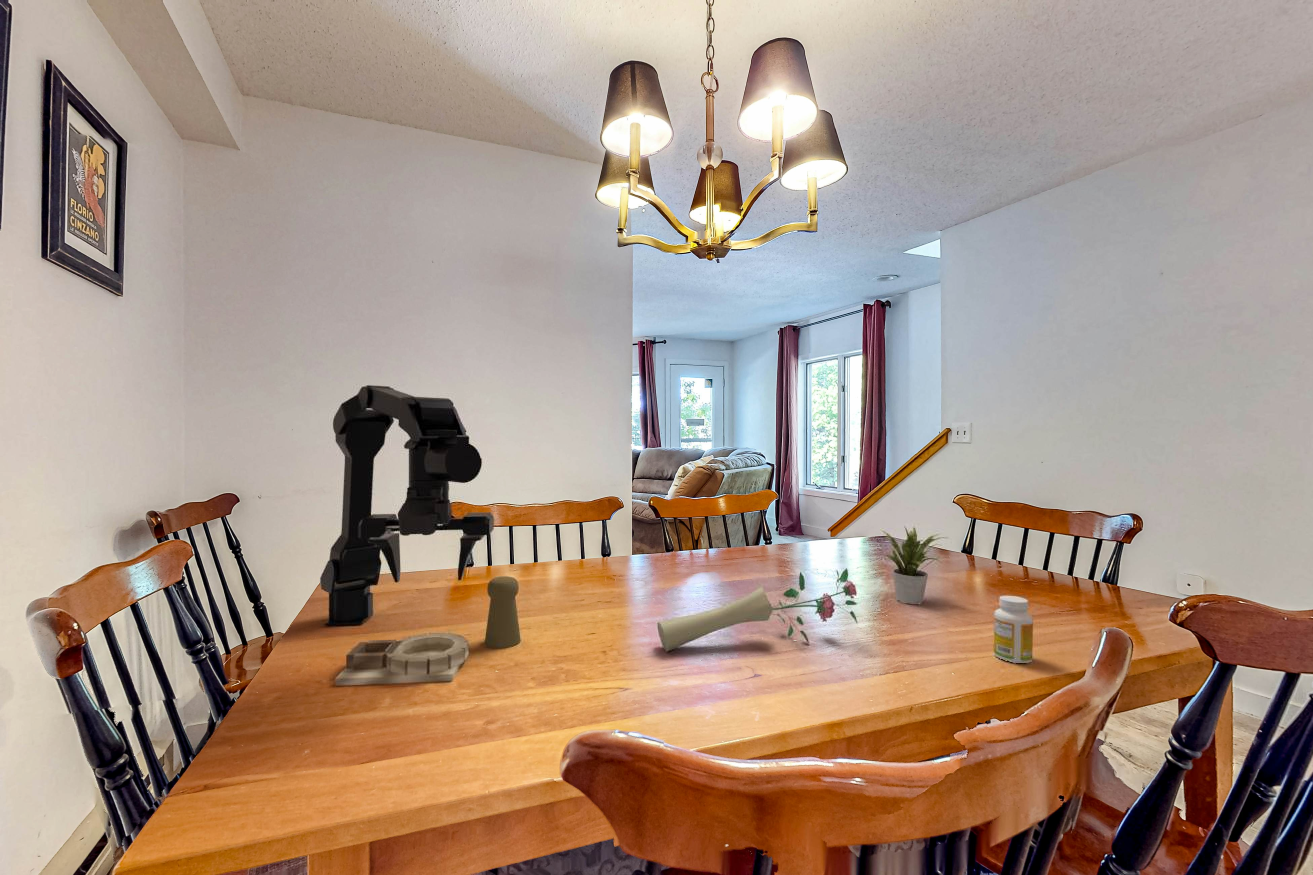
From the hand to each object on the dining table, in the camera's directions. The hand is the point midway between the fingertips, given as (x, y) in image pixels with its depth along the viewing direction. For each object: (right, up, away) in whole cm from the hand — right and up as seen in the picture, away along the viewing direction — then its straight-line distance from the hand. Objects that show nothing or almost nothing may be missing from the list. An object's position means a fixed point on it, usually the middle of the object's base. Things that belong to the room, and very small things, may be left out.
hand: (428, 580), depth 89 cm
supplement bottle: (+93, -14, +5) cm, 94 cm away
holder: (-3, -13, 0) cm, 13 cm away
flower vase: (+52, -14, +11) cm, 55 cm away
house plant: (+90, -14, +35) cm, 98 cm away
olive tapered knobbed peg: (+9, -13, +10) cm, 19 cm away
